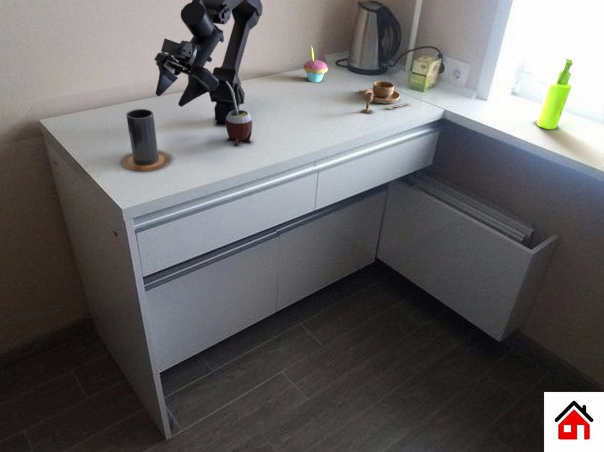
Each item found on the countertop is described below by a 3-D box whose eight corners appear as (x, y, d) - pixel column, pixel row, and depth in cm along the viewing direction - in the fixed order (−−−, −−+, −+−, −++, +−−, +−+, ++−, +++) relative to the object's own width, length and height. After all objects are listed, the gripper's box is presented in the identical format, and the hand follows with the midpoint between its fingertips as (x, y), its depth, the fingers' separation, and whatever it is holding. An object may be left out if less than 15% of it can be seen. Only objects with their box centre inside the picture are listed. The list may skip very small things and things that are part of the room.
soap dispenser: (555, 122, 158) (578, 59, 147) (557, 130, 152) (580, 65, 141) (535, 119, 159) (557, 56, 148) (536, 127, 154) (558, 62, 143)
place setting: (413, 104, 165) (416, 86, 162) (367, 114, 155) (369, 96, 152) (378, 88, 177) (380, 71, 174) (333, 97, 167) (335, 79, 164)
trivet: (173, 151, 127) (173, 151, 127) (163, 172, 118) (163, 171, 118) (129, 150, 127) (129, 149, 127) (117, 170, 118) (117, 169, 118)
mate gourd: (248, 148, 131) (247, 93, 123) (219, 144, 132) (217, 89, 124) (255, 137, 137) (255, 83, 129) (228, 133, 138) (226, 80, 130)
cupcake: (301, 82, 178) (303, 48, 171) (305, 75, 185) (307, 42, 178) (325, 84, 177) (327, 50, 170) (327, 77, 184) (330, 44, 177)
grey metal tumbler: (161, 154, 125) (155, 109, 118) (155, 165, 120) (149, 119, 113) (136, 154, 125) (130, 108, 118) (130, 165, 120) (123, 118, 113)
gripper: (156, 17, 119) (122, 72, 118) (206, 33, 109) (168, 92, 108) (186, 46, 128) (154, 96, 128) (233, 62, 118) (200, 117, 118)
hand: (168, 100), depth 120 cm, fingers open, 9 cm apart
